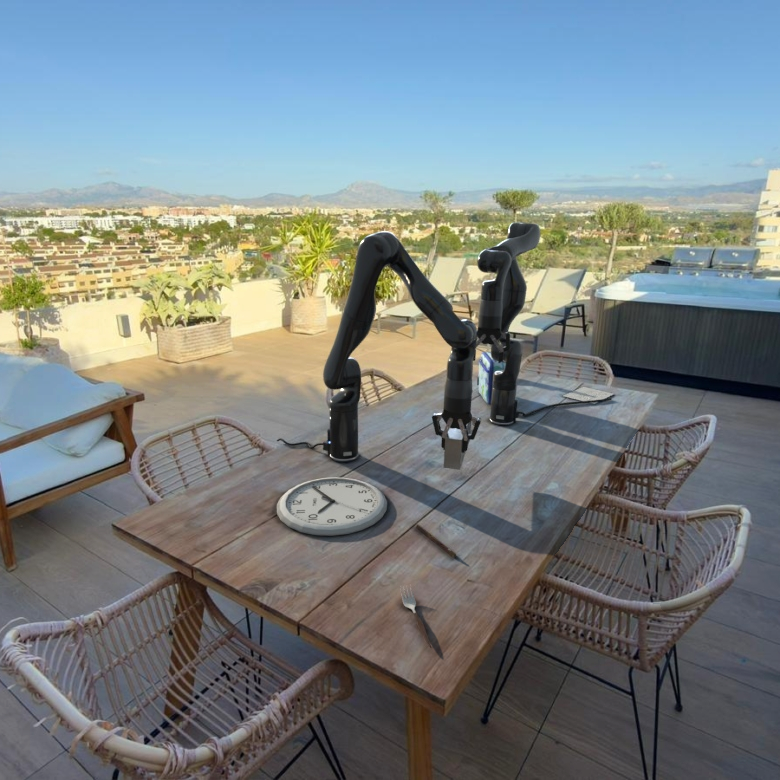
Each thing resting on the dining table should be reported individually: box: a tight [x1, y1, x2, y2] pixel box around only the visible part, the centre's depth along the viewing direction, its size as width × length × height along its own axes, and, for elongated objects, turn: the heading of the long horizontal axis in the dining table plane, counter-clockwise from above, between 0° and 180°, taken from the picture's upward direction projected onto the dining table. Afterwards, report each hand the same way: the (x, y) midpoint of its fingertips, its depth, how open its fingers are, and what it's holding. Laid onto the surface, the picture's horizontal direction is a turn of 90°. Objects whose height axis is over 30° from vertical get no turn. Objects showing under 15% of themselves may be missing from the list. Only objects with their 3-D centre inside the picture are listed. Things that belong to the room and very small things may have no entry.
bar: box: [443, 412, 473, 471], centre depth 156 cm, size 23×5×9 cm, turn 165°
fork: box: [399, 584, 432, 649], centre depth 101 cm, size 3×16×2 cm, turn 16°
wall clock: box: [276, 476, 388, 537], centre depth 142 cm, size 30×2×30 cm
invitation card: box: [562, 386, 615, 405], centre depth 241 cm, size 21×1×15 cm
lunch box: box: [476, 351, 506, 406], centre depth 230 cm, size 26×11×21 cm, turn 179°
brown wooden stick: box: [415, 524, 457, 559], centre depth 127 cm, size 15×1×1 cm, turn 34°
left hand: (454, 450), depth 148 cm, fingers closed on bar, 4 cm apart
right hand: (486, 361), depth 176 cm, fingers open, 8 cm apart
